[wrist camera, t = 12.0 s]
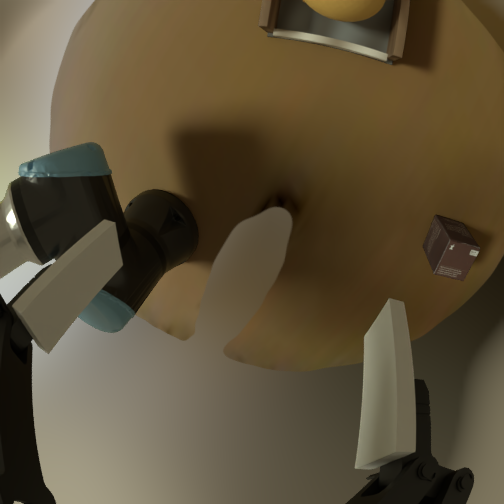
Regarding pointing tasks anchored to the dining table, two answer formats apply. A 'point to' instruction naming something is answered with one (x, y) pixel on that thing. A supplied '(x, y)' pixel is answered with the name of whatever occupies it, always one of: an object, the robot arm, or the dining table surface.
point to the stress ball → (346, 9)
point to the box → (450, 248)
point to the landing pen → (340, 28)
